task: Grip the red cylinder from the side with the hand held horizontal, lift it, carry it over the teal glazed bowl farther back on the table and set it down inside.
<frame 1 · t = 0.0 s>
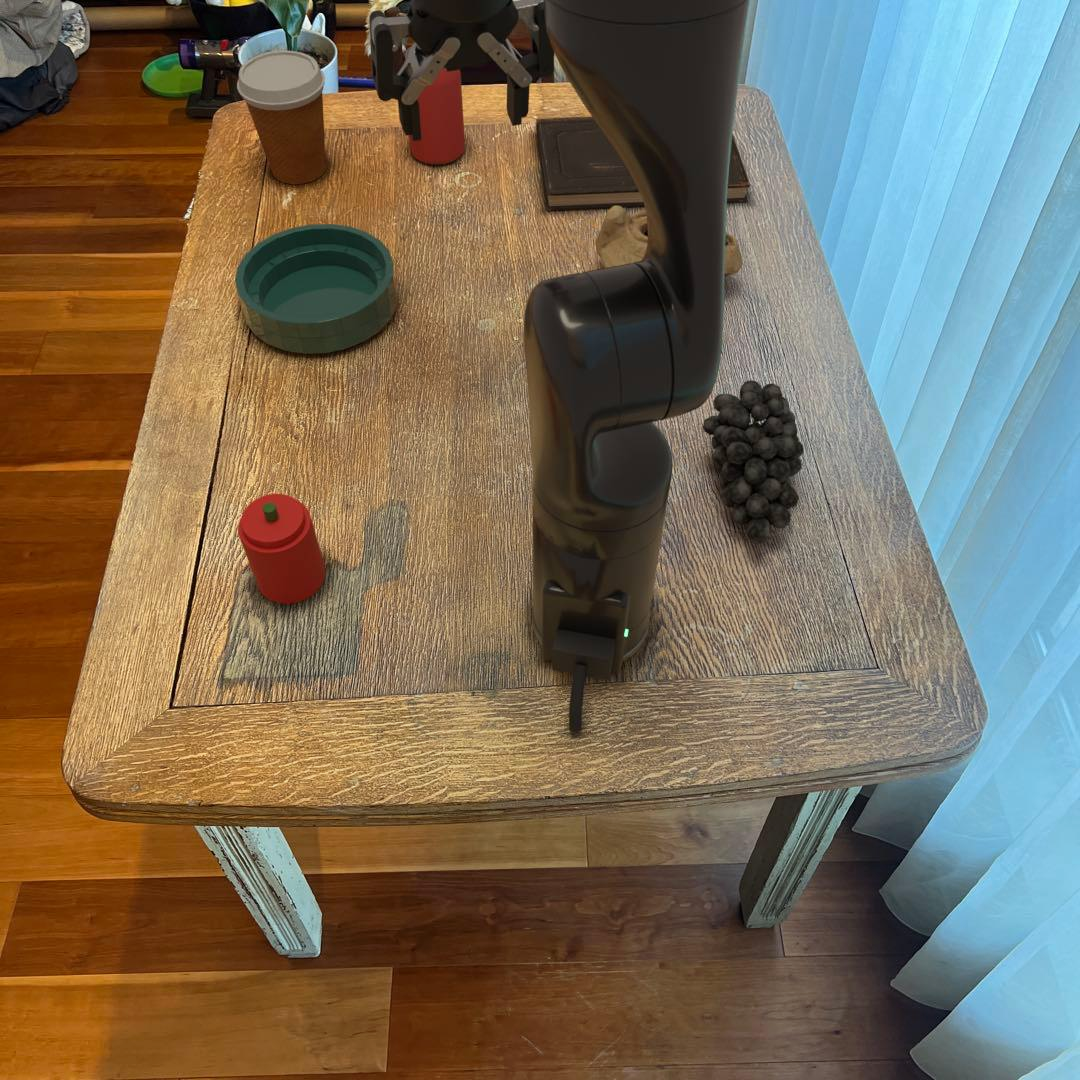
hand: (465, 126, 85), 22 cm above the table, tool pointing down, fingers open, 8 cm apart
disposable coffee cup: (299, 170, 121), on the table
red cylinder: (291, 576, 85), on the table
bowl: (322, 306, 105), on the table
hardcover book: (637, 168, 121), on the table
oil lamp: (664, 280, 108), on the table
fruit: (745, 494, 90), on the table
beer can: (438, 153, 123), on the table
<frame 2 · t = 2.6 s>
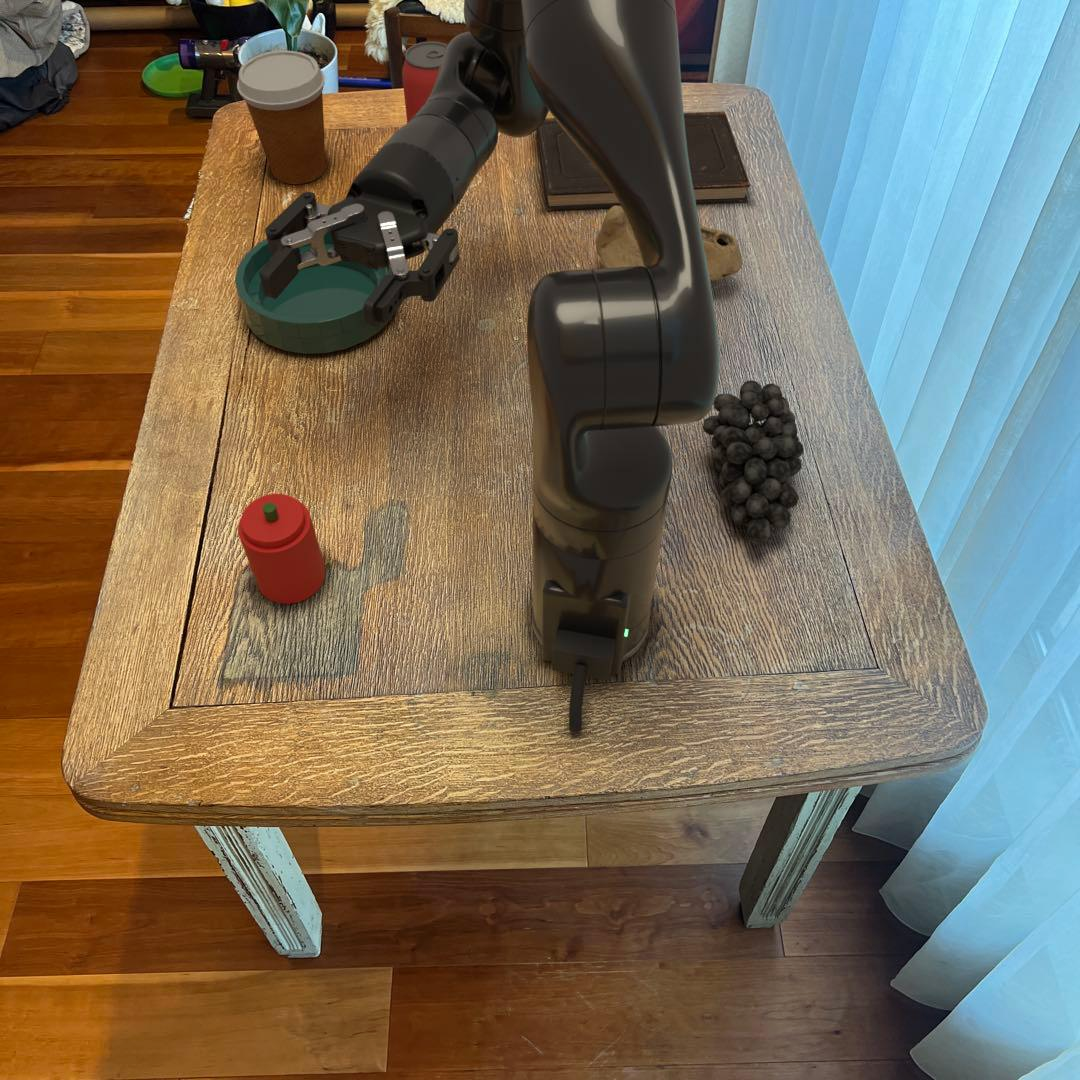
hand: (317, 303, 75), 20 cm above the table, tool horizontal, fingers open, 8 cm apart
nothing on the table moved.
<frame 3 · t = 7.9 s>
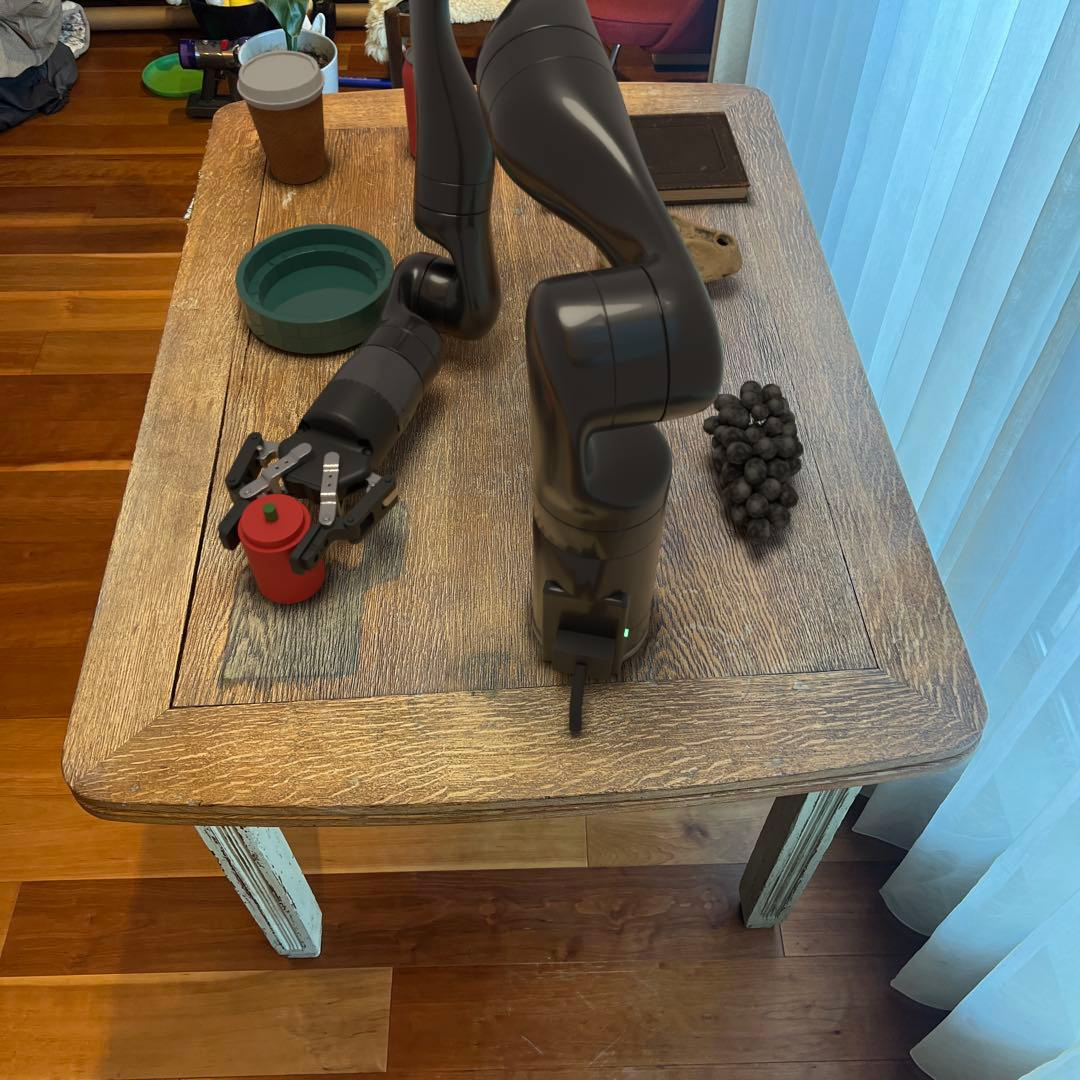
hand: (260, 555, 78), 6 cm above the table, tool horizontal, fingers closed on red cylinder, 5 cm apart
red cylinder: (291, 576, 85), on the table, touching gripper
everything else where it was.
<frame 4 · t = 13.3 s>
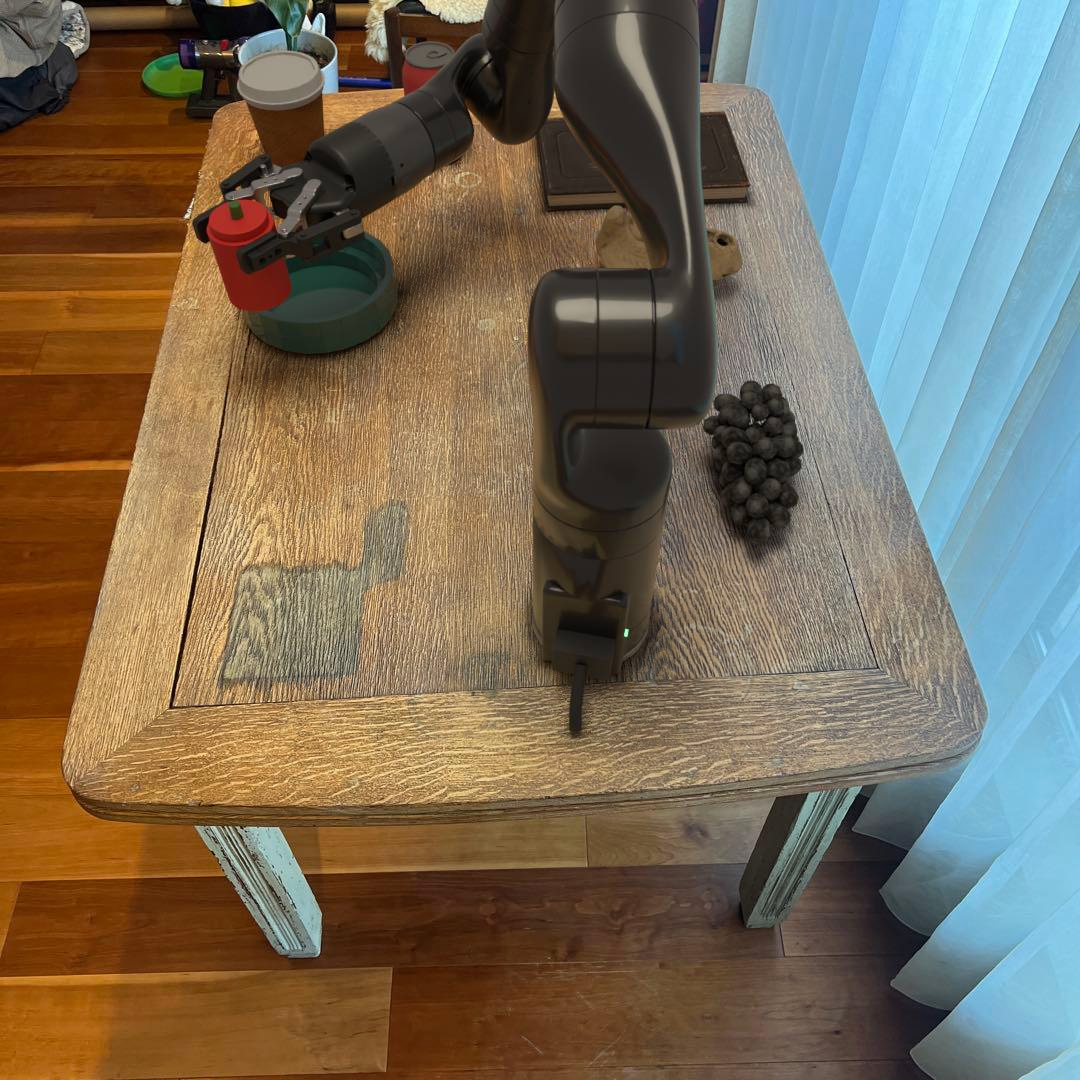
hand: (219, 248, 85), 16 cm above the table, tool horizontal, fingers closed on red cylinder, 5 cm apart
red cylinder: (260, 291, 91), point 10 cm above the table, touching gripper
everything else where it was.
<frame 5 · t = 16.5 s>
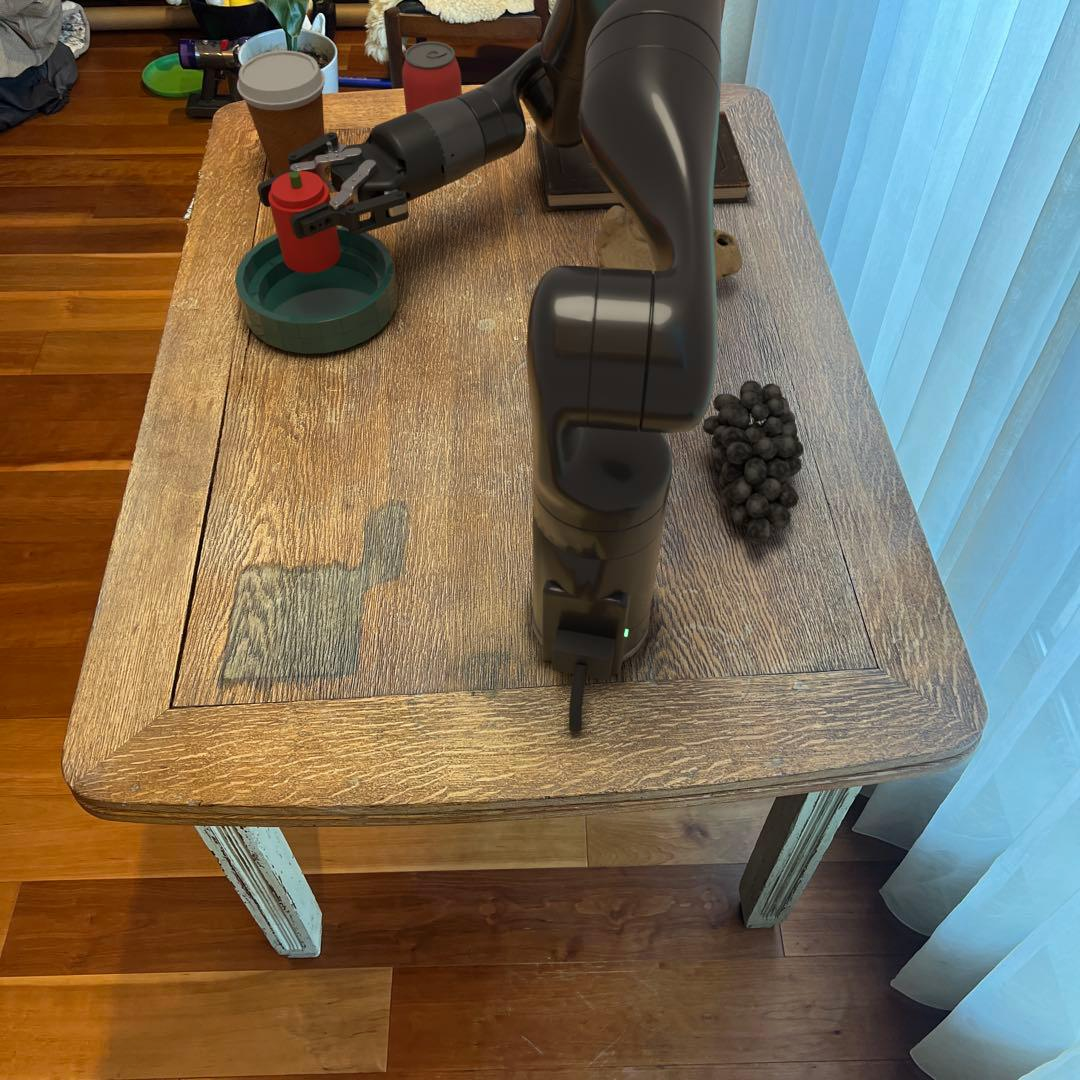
hand: (277, 212, 95), 12 cm above the table, tool horizontal, fingers closed on red cylinder, 5 cm apart
red cylinder: (312, 255, 100), point 6 cm above the table, touching gripper
everything else where it was.
when the fingers open (7 cm above the table, at t = 19.0 s): red cylinder stays where it is, resting on bowl.
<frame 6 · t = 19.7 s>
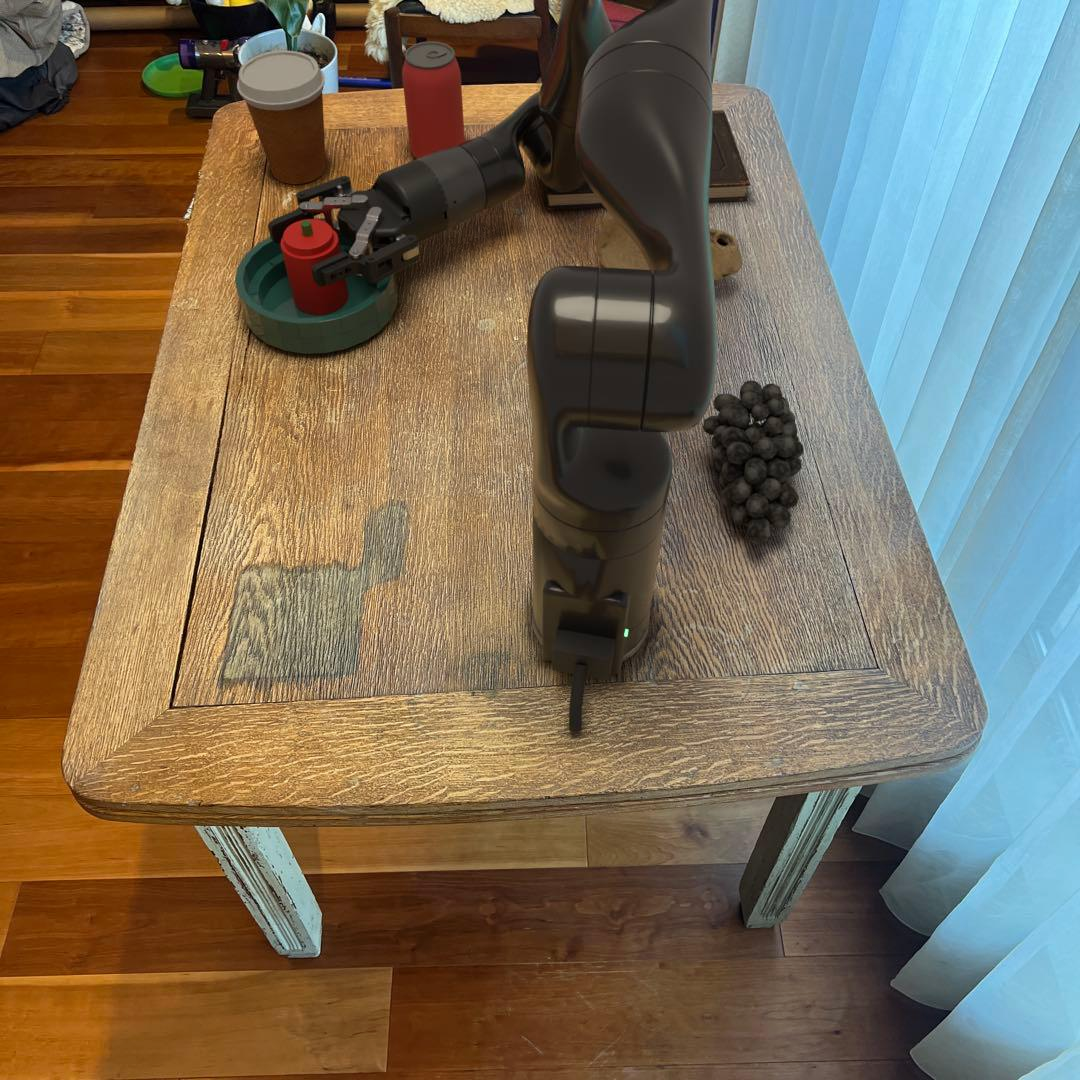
hand: (292, 255, 99), 7 cm above the table, tool horizontal, fingers open, 8 cm apart
red cylinder: (321, 297, 105), point 1 cm above the table, touching bowl
everything else where it was.
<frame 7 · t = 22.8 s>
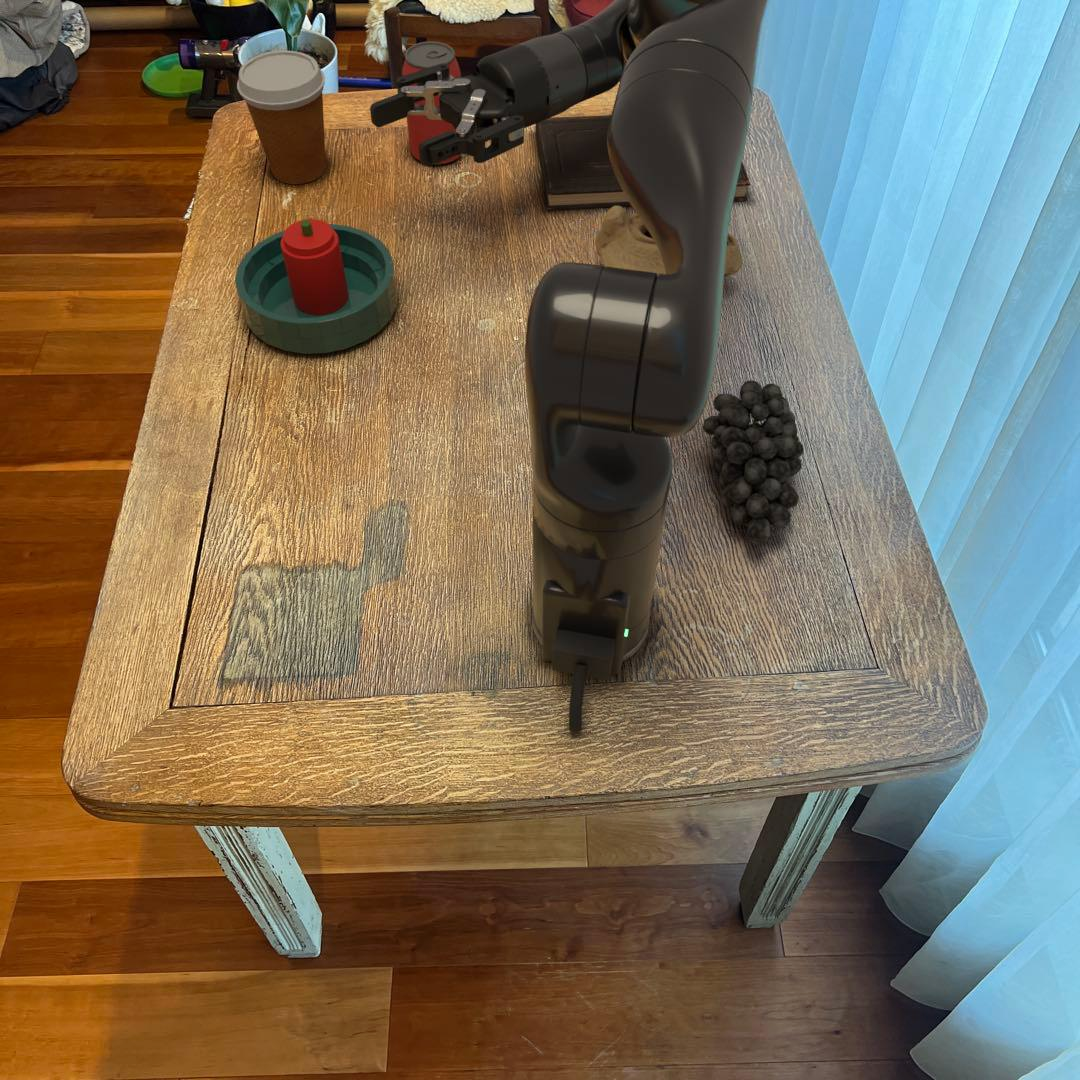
hand: (396, 135, 97), 15 cm above the table, tool horizontal, fingers open, 8 cm apart
nothing on the table moved.
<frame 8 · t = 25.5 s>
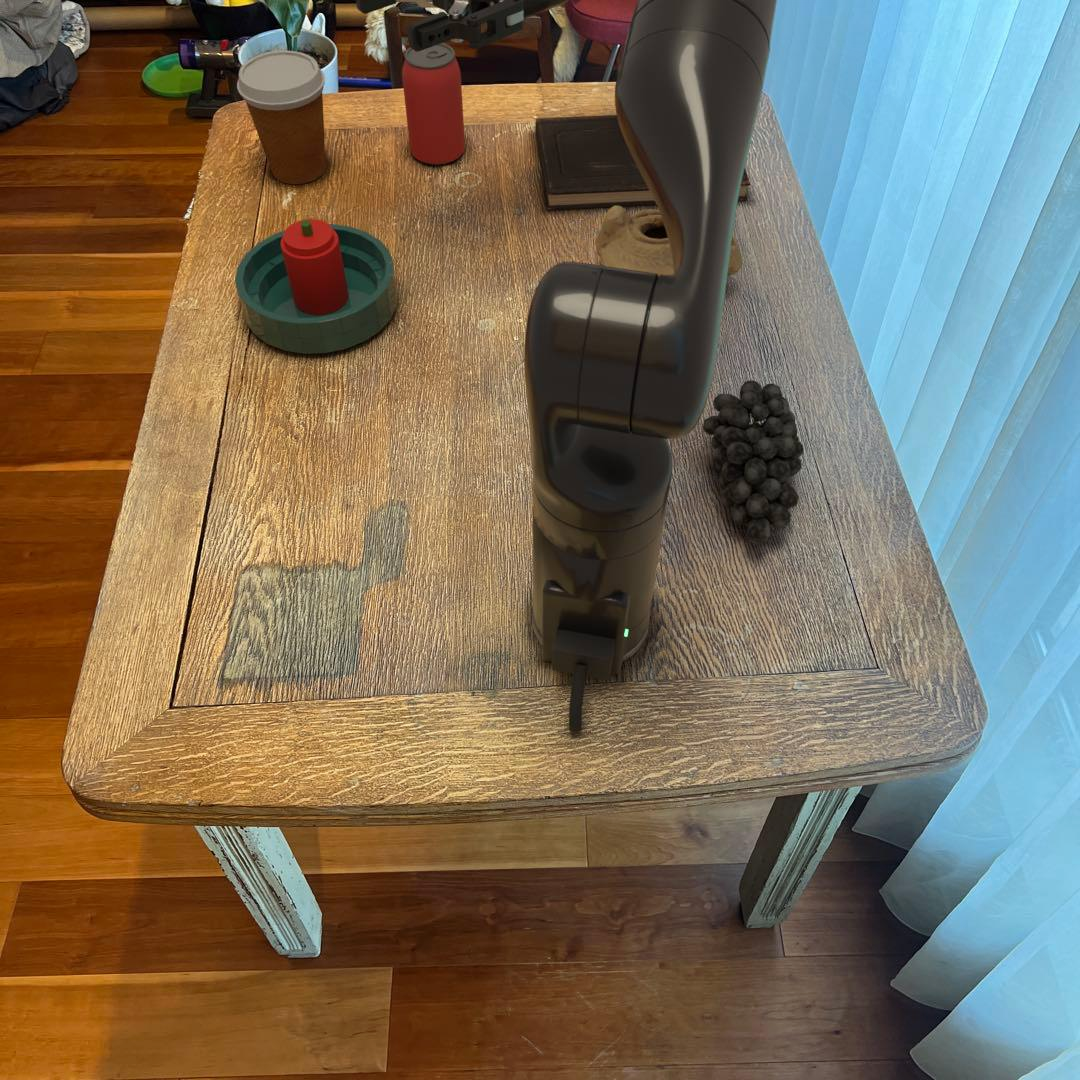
hand: (383, 19, 89), 26 cm above the table, tool horizontal, fingers open, 8 cm apart
nothing on the table moved.
at the end: red cylinder inside the target area in the bowl (0.7 cm from its centre), point 0.6 cm above the bowl's base; the gripper is holding nothing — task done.
